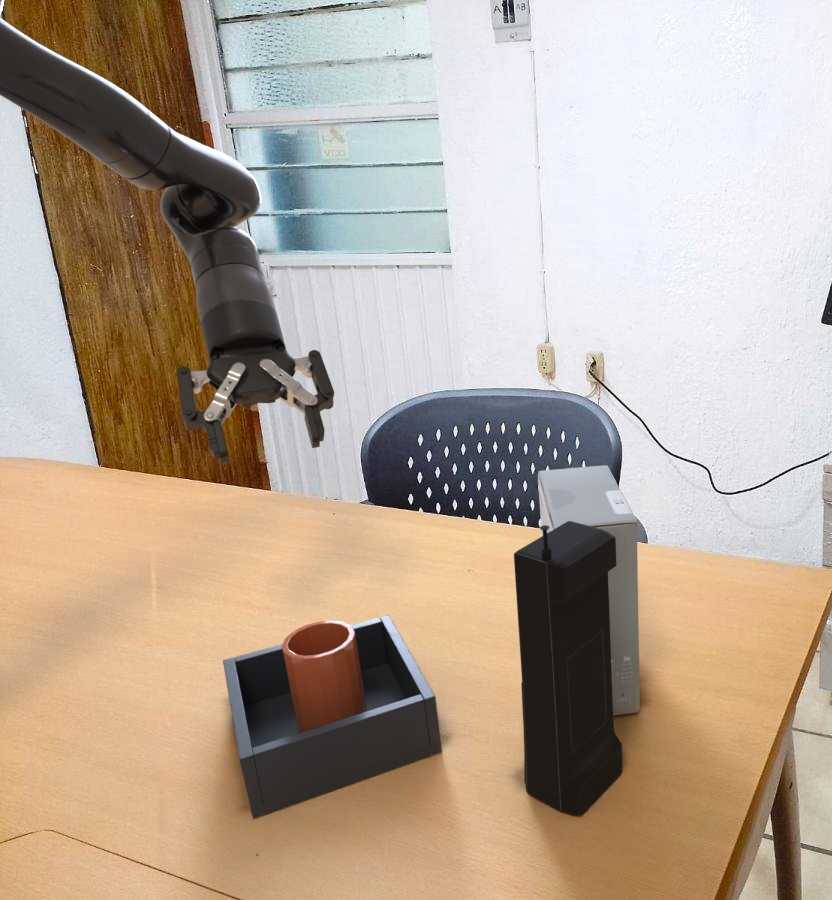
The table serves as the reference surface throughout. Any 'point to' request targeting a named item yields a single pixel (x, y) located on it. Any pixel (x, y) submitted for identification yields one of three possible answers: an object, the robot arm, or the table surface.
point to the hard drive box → (604, 507)
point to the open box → (335, 744)
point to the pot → (323, 674)
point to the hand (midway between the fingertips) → (271, 451)
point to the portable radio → (567, 666)
